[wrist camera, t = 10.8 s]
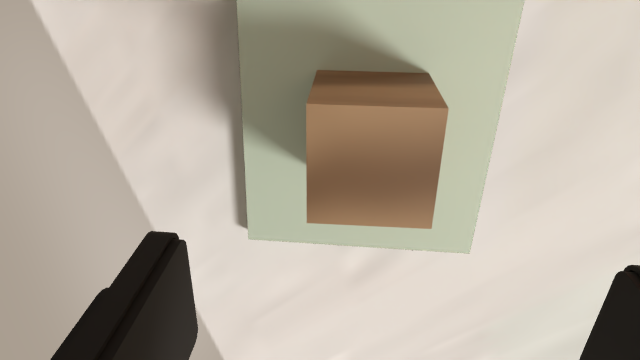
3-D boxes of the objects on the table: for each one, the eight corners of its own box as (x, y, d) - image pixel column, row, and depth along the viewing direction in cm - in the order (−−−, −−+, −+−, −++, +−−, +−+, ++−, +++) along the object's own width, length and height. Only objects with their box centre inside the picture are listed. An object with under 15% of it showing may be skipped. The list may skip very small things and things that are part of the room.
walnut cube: (317, 70, 21) (306, 104, 16) (428, 73, 21) (448, 108, 16) (316, 169, 23) (306, 223, 19) (416, 173, 23) (431, 229, 18)
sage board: (238, -45, 20) (234, -44, 19) (525, -34, 19) (531, -34, 18) (251, 231, 26) (248, 239, 25) (466, 245, 25) (469, 253, 25)
